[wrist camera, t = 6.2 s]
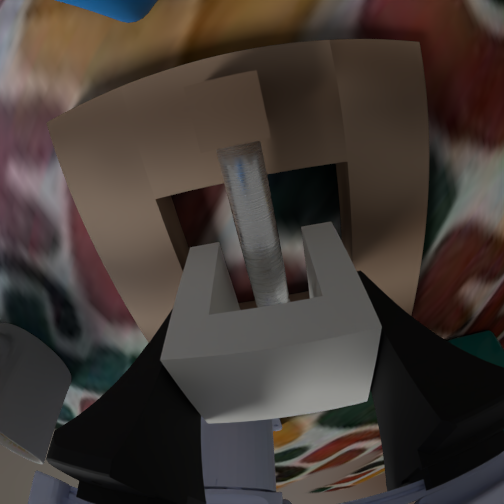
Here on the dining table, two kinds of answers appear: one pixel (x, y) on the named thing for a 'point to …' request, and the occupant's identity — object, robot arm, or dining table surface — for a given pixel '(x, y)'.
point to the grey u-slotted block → (273, 338)
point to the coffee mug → (29, 392)
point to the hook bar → (255, 220)
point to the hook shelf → (274, 152)
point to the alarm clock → (116, 8)
